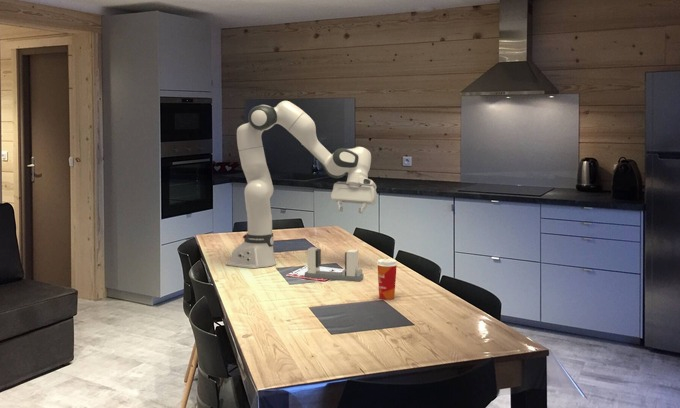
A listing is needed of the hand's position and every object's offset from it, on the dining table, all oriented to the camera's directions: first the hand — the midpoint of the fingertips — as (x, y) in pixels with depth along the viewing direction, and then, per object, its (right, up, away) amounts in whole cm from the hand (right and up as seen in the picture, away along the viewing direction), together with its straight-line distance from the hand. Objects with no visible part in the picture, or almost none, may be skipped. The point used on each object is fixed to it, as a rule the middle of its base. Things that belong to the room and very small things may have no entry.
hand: (350, 211), depth 291 cm
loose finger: (+1, -26, -15) cm, 30 cm away
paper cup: (+13, -31, -42) cm, 54 cm away
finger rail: (-7, -27, -12) cm, 31 cm away
